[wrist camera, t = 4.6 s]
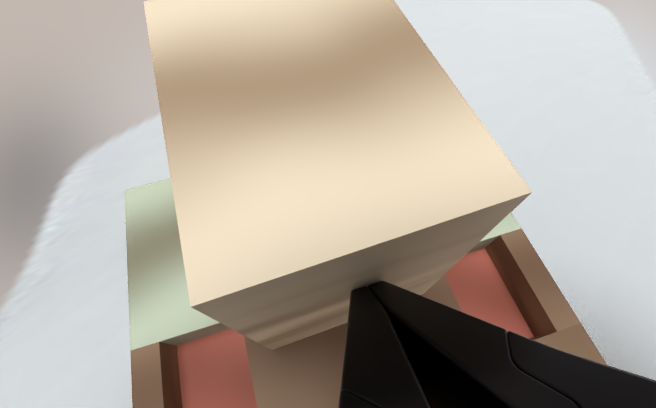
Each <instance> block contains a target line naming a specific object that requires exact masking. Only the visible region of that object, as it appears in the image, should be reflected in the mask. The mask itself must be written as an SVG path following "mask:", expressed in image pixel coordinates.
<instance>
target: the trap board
mask: <svg viewBox="0 0 656 408" xmlns="http://www.w3.org/2000/svg"><path fill="white" fill-rule="evenodd" d="M125 212H126V239H127V266H128V294H129V321H130V348H131V375H132V402H133V408H338V406H339V396H340V392H341V379H342V370H343V360H344V351H345V341H346V332H347V323H345V324H342V325H339V326H336V327H334V328H331V329H328V330H326V331H323V332H320V333H317V334H315V335H312V336H309V337H306V338H304V339H301V340H298V341H296V342H293V343H290V344H287V345H285V346H282V347H279V348H277V349H274V350H270V349H269V348H267V347H265V346H263V345H261V344H259V343H257V342H255V341H254V340H252V339H250V338H248V337H246V336H244V335H242V334H240V333H239V332H237V331H235V330H233V329H231V328H229V327H227V326H225V325H223V324H222V323H220V322H218V321H216V320H214V319H212V318H210V317H208V316H207V315H205V314H203V313H201V312H199V311H197V310H195V309H193V308H192V307H190V300H189V294H188V287H187V281H186V274H185V268H184V261H183V255H182V248H181V242H180V235H179V229H178V222H177V216H176V209H175V203H174V196H173V190H172V183H171V178H170V179H166V180H162V181H158V182H154V183H150V184H146V185H142V186H138V187H134V188H130V189H126V190H125ZM421 296H423V297H426V298H428V299H431V300H433V301H436V302H439V303H441V304H444V305H446V306H449V307H451V308H454V309H456V310H459V311H461V312H464V313H466V314H469V315H471V316H474V317H476V318H479V319H481V320H484V321H486V322H489V323H491V324H494V325H496V326H499V327H501V328H504V329H506V330H507V332H508V331H512V332H514V333H517V334H519V335H522V336H524V337H527V338H529V339H532V340H535V341H537V342H540V343H543V344H545V345H548V346H551V347H554V348H556V349H559V350H562V351H565V352H568V353H571V354H574V355H577V356H580V357H583V358H586V359H589V360H592V361H595V362H598V363H601V364H604V365H607V364H606V363H605V361H604V360H603V358H602V356H601V355H600V353H599V352H598V350H597V348H596V347H595V345H594V344H593V342H592V340H591V339H590V337H589V336H588V334H587V332H586V331H585V329H584V328H583V326H582V324H581V323H580V321H579V320H578V318H577V316H576V315H575V313H574V312H573V310H572V308H571V307H570V305H569V304H568V302H567V301H566V299H565V297H564V296H563V294H562V293H561V291H560V289H559V288H558V286H557V285H556V283H555V281H554V280H553V278H552V277H551V275H550V273H549V272H548V270H547V269H546V267H545V265H544V264H543V262H542V261H541V259H540V257H539V256H538V254H537V253H536V251H535V249H534V248H533V246H532V245H531V243H530V241H529V240H528V238H527V237H526V235H525V233H524V232H523V230H522V229H521V227H520V226H519V224H518V222H517V221H516V219H515V218H514V216H513V214H512V213H511V212H510V213H509V214H508V215H507V216H506V217H505V218H504V219H503V220H502V221H501V222H500V223H499V224H498V225H497V226H495V227H494V228H493V229H492V230H491V231H490V232H489V233H488V234H487V235H486V236H485V237H484V238H483V239H482V240H481V241H480V242H478V243H477V244H476V245H475V246H474V247H473V248H472V249H471V250H470V251H469V252H468V253H467V254H466V255H465V256H464V257H462V258H461V259H460V260H459V261H458V262H457V263H456V264H455V265H454V266H453V267H452V268H451V269H450V270H449V271H448V272H446V273H445V274H444V275H443V276H442V277H441V278H440V279H439V280H438V281H437V282H436V283H435V284H434V285H433V286H432V287H430V288H429V289H428V290H427V291H426V292H425V293H424V294H423V295H421Z"/></svg>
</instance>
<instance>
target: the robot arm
mask: <svg viewBox="0 0 656 408" xmlns="http://www.w3.org/2000/svg"><path fill="white" fill-rule="evenodd" d="M338 408H656V381H655V380H652V379H649V378H646V377H642V376H639V375H636V374H633V373H630V372H627V371H623V370H620V369H617V368H614V367H611V366H608V365H604V364H601V363H598V362H595V361H592V360H589V359H586V358H583V357H580V356H577V355H574V354H571V353H568V352H565V351H562V350H559V349H556V348H554V347H551V346H548V345H545V344H543V343H540V342H537V341H535V340H532V339H529V338H527V337H524V336H522V335H519V334H517V333H514V332H512V331H508V332H507V330H506V329H504V328H501V327H499V326H496V325H494V324H491V323H489V322H486V321H484V320H481V319H479V318H476V317H474V316H471V315H469V314H466V313H464V312H461V311H459V310H456V309H454V308H451V307H449V306H446V305H444V304H441V303H439V302H436V301H433V300H431V299H428V298H426V297H423V296H421V295H418V294H416V293H413V292H411V291H408V290H406V289H403V288H401V287H398V286H396V285H393V284H391V283H388V282H386V281H379V282H376V283H372V284H370V285H368V287H367V286H363V287H360V288H357V289H354V290H352V291H351V294H350V303H349V313H348V322H347V332H346V341H345V351H344V360H343V370H342V379H341V392H340V396H339V406H338Z"/></svg>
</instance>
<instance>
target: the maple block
mask: <svg viewBox="0 0 656 408" xmlns="http://www.w3.org/2000/svg"><path fill="white" fill-rule="evenodd" d="M144 8H145V14H146V21H147V27H148V33H149V40H150V46H151V53H152V59H153V66H154V72H155V79H156V86H157V92H158V99H159V105H160V112H161V118H162V125H163V131H164V138H165V144H166V151H167V157H168V164H169V170H170V177H171V183H172V190H173V196H174V203H175V209H176V216H177V222H178V229H179V235H180V242H181V248H182V255H183V261H184V268H185V274H186V281H187V287H188V294H189V300H190V307H192V308H193V309H195V310H197V311H199V312H201V313H203V314H205V315H207V316H208V317H210V318H212V319H214V320H216V321H218V322H220V323H222V324H223V325H225V326H227V327H229V328H231V329H233V330H235V331H237V332H239V333H240V334H242V335H244V336H246V337H248V338H250V339H252V340H254V341H255V342H257V343H259V344H261V345H263V346H265V347H267V348H269V349H270V350H274V349H277V348H279V347H282V346H285V345H287V344H290V343H293V342H296V341H298V340H301V339H304V338H306V337H309V336H312V335H315V334H317V333H320V332H323V331H326V330H328V329H331V328H334V327H336V326H339V325H342V324H345V323H347V322H348V313H349V303H350V294H351V291H352V290H354V289H357V288H360V287H363V286H367V287H368V285H370V284H372V283H376V282H379V281H386V282H388V283H391V284H393V285H396V286H398V287H401V288H403V289H406V290H408V291H411V292H413V293H416V294H418V295H423V294H424V293H425V292H426V291H427V290H428V289H429V288H430V287H432V286H433V285H434V284H435V283H436V282H437V281H438V280H439V279H440V278H441V277H442V276H443V275H444V274H445V273H446V272H448V271H449V270H450V269H451V268H452V267H453V266H454V265H455V264H456V263H457V262H458V261H459V260H460V259H461V258H462V257H464V256H465V255H466V254H467V253H468V252H469V251H470V250H471V249H472V248H473V247H474V246H475V245H476V244H477V243H478V242H480V241H481V240H482V239H483V238H484V237H485V236H486V235H487V234H488V233H489V232H490V231H491V230H492V229H493V228H494V227H495V226H497V225H498V224H499V223H500V222H501V221H502V220H503V219H504V218H505V217H506V216H507V215H508V214H509V213H510V212H511V211H513V210H514V209H515V208H516V207H517V206H518V205H519V204H520V203H521V202H522V201H523V200H524V199H525V198H526V197H527V196H529V195H530V194H531V193H532V192H531V190H530V189H529V187H528V186H527V185H526V183H525V182H524V180H523V179H522V178H521V176H520V175H519V174H518V172H517V171H516V169H515V168H514V167H513V165H512V164H511V162H510V161H509V160H508V158H507V157H506V156H505V154H504V153H503V151H502V150H501V149H500V147H499V146H498V144H497V143H496V142H495V140H494V139H493V137H492V136H491V135H490V133H489V132H488V131H487V129H486V128H485V126H484V125H483V124H482V122H481V121H480V119H479V118H478V117H477V115H476V114H475V113H474V111H473V110H472V108H471V107H470V106H469V104H468V103H467V101H466V100H465V99H464V97H463V96H462V94H461V93H460V92H459V90H458V89H457V88H456V86H455V85H454V83H453V82H452V81H451V79H450V78H449V76H448V75H447V74H446V72H445V71H444V69H443V68H442V67H441V65H440V64H439V63H438V61H437V60H436V58H435V57H434V56H433V54H432V53H431V51H430V50H429V49H428V47H427V46H426V45H425V43H424V42H423V40H422V39H421V38H420V36H419V35H418V33H417V32H416V31H415V29H414V28H413V26H412V25H411V24H410V22H409V21H408V20H407V18H406V17H405V15H404V14H403V13H402V11H401V10H400V8H399V7H398V6H397V4H396V3H395V1H394V0H150V1H145V2H144Z"/></svg>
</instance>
